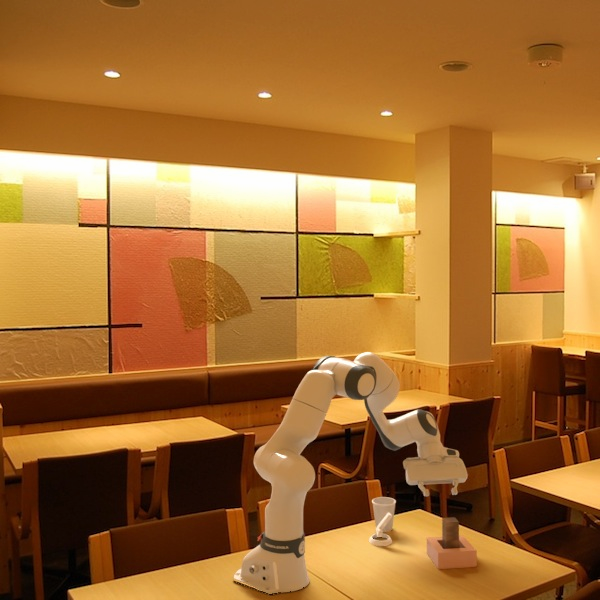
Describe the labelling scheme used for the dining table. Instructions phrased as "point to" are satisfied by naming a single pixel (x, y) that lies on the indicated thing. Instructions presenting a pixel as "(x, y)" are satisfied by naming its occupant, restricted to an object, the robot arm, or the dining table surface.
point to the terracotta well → (451, 554)
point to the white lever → (381, 533)
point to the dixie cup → (384, 511)
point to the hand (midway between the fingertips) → (441, 494)
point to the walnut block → (450, 533)
